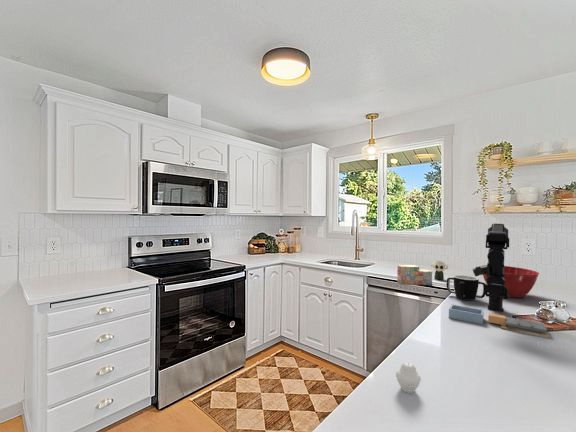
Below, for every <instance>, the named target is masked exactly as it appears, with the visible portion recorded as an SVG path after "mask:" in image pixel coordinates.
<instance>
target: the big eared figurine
mask: <svg viewBox="0 0 576 432" xmlns="http://www.w3.org/2000/svg"><path fill="white" fill-rule="evenodd" d="M430 264H431V265H430V266H431V267H430V268H432V269H434V278H433V279H435V280H438V279H439V280H444V279H445V277H444V274H445V273H444V271H445V270H449V269H448V268H449V265H448V264H446V262H445V261H441V260H434V261H433V262H432V263H430Z"/></svg>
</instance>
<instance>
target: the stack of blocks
mask: <svg viewBox="0 0 576 432" xmlns="http://www.w3.org/2000/svg"><path fill="white" fill-rule="evenodd" d="M396 272H397V275H396V276H397V278H396V279H397V282H396V283H397V284H399V285H402V286H403V285H404V286H405V285H406V286H432V285H433V271H432V270H429V269H420V266H418V265H414V264H410V265H409V264H404V265H403V264H398V265H397V271H396Z"/></svg>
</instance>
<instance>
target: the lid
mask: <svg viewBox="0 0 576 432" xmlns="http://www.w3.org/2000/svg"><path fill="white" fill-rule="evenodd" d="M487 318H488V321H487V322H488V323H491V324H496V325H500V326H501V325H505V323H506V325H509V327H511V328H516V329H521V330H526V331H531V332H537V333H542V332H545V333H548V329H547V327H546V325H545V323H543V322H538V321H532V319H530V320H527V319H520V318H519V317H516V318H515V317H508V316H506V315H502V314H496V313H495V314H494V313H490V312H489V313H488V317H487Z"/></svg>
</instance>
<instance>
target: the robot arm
mask: <svg viewBox="0 0 576 432" xmlns="http://www.w3.org/2000/svg"><path fill="white" fill-rule="evenodd" d="M508 248H509V249H510V237H509V229H508V228H507V227H506V226H505V224H504V223H492V224H491V226H490V227H488V228H487V234H486V235H485V249H488V251H487V252H488V253H487V255H486V256H487V263H486V265H487V266H483V265H481V266H482V267H480V266H475V267H473V268H472V273H473V274H474V277H479V276H483V274H487V281H486V282H485V284H486V283H487V284H486V295H485V297H488V305H487V310H490V311H496V312H501V313H502V312H504V307H503V304H504V300H508V299H509V297H508V290H507V288H506V287H505V279H504V266H505V250H508ZM503 295H505V296H503Z"/></svg>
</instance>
